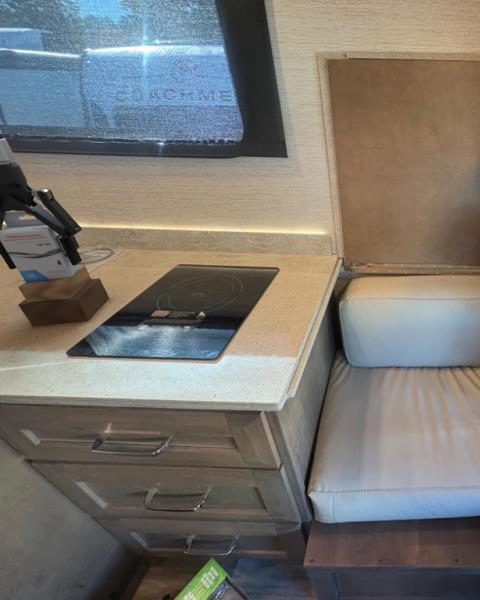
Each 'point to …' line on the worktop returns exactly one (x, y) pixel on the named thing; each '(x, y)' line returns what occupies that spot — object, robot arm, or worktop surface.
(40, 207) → the robot arm
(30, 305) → the box stack
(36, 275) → the ink box
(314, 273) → the worktop surface
